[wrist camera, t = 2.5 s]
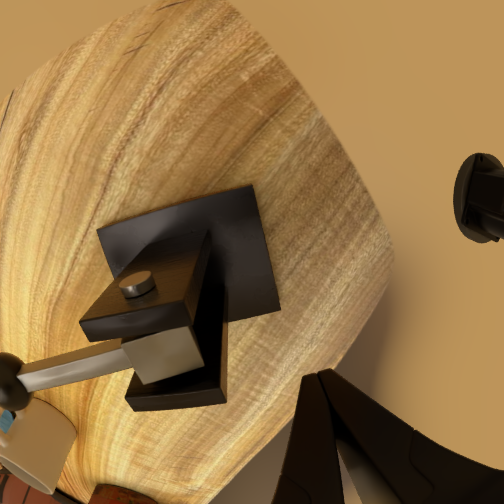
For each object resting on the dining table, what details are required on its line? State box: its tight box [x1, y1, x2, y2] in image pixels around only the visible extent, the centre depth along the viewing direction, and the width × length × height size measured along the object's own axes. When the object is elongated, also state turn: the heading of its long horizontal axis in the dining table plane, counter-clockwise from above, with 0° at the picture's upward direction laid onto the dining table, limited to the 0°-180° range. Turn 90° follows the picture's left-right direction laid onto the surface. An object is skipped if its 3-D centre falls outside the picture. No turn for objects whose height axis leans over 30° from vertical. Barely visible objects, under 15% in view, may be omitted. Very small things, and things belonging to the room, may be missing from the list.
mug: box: [0, 398, 76, 494], centre depth 20 cm, size 12×8×11 cm
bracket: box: [79, 183, 281, 412], centre depth 15 cm, size 11×9×11 cm
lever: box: [0, 326, 205, 411], centre depth 10 cm, size 12×3×3 cm, turn 103°
